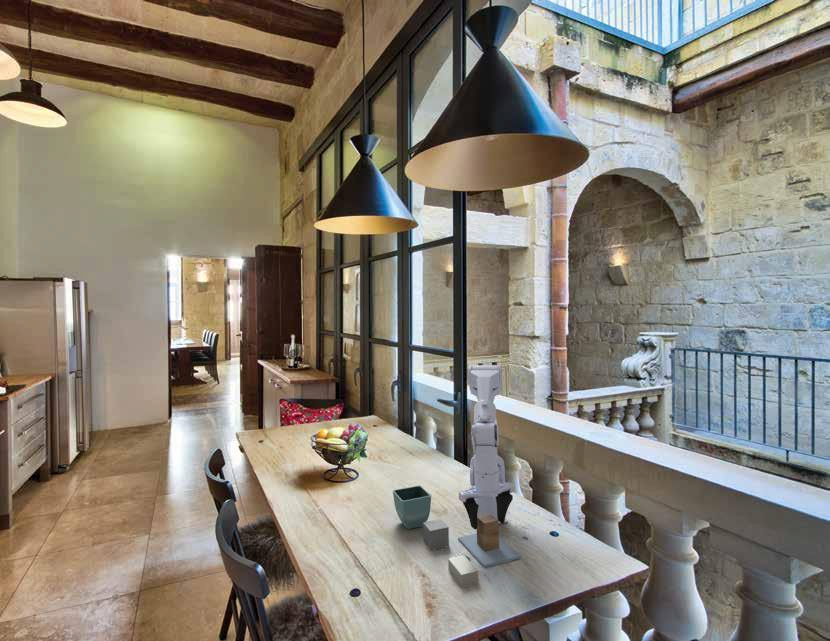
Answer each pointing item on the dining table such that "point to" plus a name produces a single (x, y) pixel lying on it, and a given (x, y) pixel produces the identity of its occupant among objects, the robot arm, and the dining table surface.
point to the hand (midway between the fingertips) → (487, 524)
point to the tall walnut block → (487, 532)
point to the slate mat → (492, 556)
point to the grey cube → (436, 534)
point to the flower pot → (412, 505)
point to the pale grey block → (463, 570)
